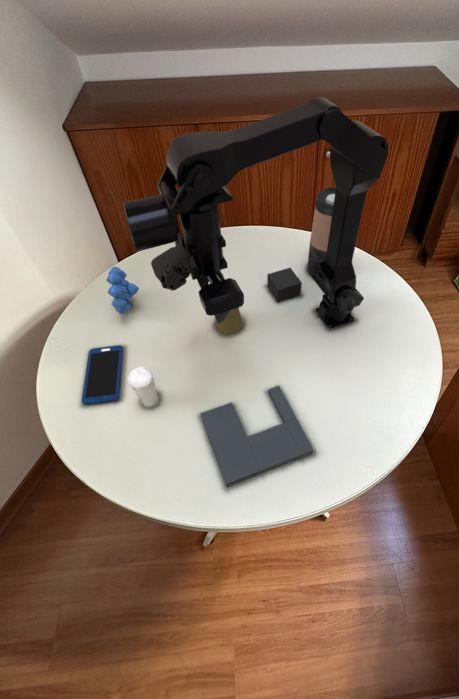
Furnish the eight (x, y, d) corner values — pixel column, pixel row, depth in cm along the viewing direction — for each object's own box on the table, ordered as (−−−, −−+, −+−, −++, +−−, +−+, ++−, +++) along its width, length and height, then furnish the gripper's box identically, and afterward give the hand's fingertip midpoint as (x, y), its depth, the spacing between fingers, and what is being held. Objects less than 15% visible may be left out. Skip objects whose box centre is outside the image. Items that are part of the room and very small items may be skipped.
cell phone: (123, 346, 81) (122, 344, 81) (119, 400, 73) (118, 398, 72) (90, 350, 81) (89, 348, 80) (82, 405, 72) (80, 403, 72)
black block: (289, 279, 92) (290, 267, 89) (300, 295, 88) (301, 282, 85) (267, 286, 91) (267, 274, 88) (277, 302, 87) (278, 289, 84)
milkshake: (155, 416, 70) (142, 388, 62) (134, 403, 72) (119, 375, 64) (169, 398, 73) (159, 369, 65) (149, 386, 75) (136, 357, 67)
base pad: (278, 389, 72) (278, 385, 71) (312, 453, 64) (313, 449, 63) (201, 416, 70) (200, 413, 68) (226, 487, 61) (226, 484, 60)
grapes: (145, 324, 85) (131, 285, 76) (115, 328, 85) (98, 290, 75) (145, 290, 92) (132, 251, 83) (118, 294, 92) (102, 254, 83)
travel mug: (339, 279, 91) (356, 205, 75) (307, 280, 91) (319, 206, 75) (334, 260, 95) (349, 185, 80) (304, 261, 96) (314, 187, 80)
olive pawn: (239, 335, 81) (237, 300, 73) (213, 332, 82) (208, 297, 74) (244, 316, 85) (243, 279, 76) (219, 313, 86) (215, 277, 77)
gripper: (136, 212, 59) (157, 285, 71) (165, 285, 48) (183, 356, 60) (202, 196, 61) (211, 270, 73) (244, 262, 50) (246, 336, 62)
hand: (211, 305), depth 67 cm, fingers open, 9 cm apart
